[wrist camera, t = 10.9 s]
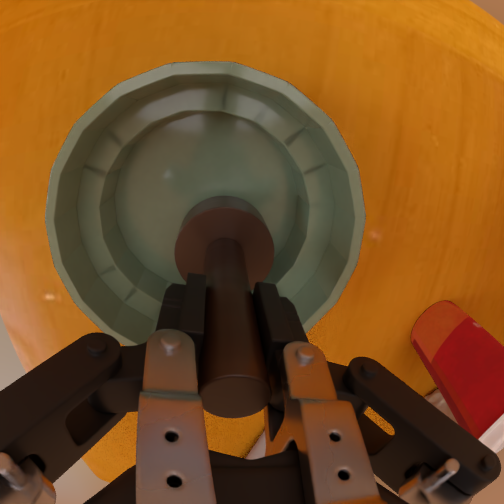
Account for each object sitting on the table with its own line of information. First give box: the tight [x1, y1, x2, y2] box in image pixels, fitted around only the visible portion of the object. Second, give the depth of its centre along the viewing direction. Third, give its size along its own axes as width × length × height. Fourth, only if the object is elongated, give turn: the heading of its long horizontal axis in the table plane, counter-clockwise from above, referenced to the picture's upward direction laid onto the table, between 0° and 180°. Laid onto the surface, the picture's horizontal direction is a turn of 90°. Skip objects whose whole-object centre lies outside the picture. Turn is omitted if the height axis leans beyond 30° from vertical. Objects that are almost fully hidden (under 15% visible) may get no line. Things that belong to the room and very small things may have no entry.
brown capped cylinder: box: [174, 196, 275, 418], centre depth 12 cm, size 5×5×11 cm
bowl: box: [45, 61, 366, 346], centre depth 16 cm, size 15×15×6 cm
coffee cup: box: [411, 301, 504, 454], centre depth 19 cm, size 8×8×15 cm
